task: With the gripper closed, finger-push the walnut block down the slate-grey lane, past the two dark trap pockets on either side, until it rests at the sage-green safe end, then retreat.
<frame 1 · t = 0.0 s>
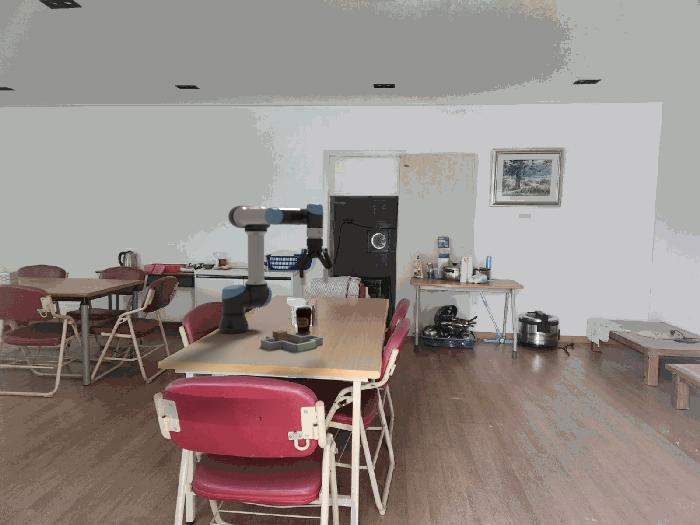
hand: (314, 284, 220), 28 cm above the table, fingers open, 13 cm apart
walnut block: (280, 341, 226), resting in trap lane
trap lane: (290, 344, 220), on the table
coffee cup: (303, 333, 245), on the table
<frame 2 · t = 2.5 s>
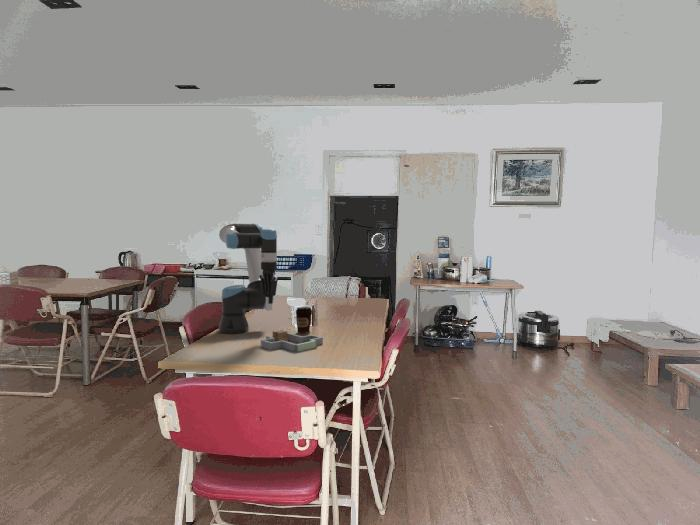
hand: (269, 310, 231), 14 cm above the table, fingers closed
nothing on the table moved.
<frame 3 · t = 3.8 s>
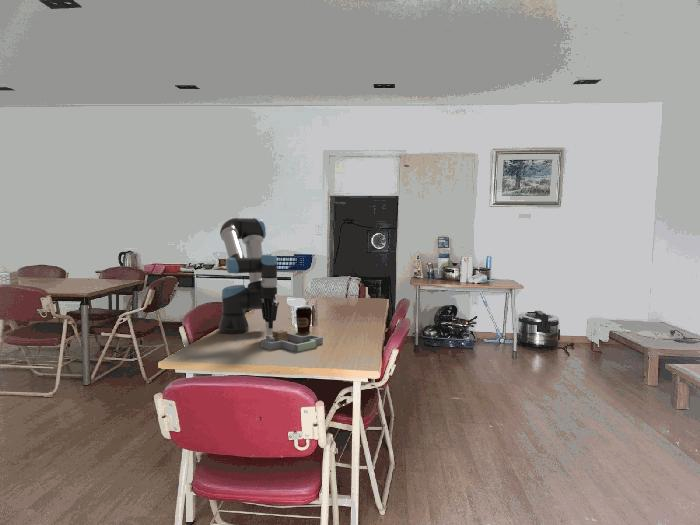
hand: (269, 334, 232), 2 cm above the table, fingers closed
nothing on the table moved.
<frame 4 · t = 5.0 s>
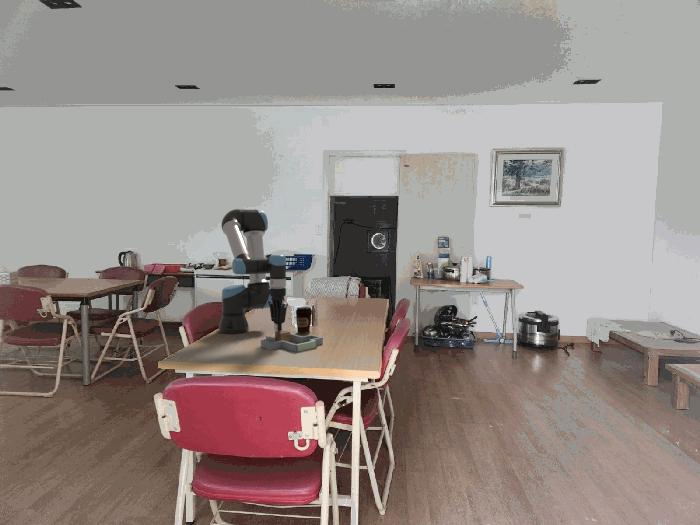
hand: (278, 336, 227), 2 cm above the table, fingers closed
walnut block: (282, 342, 224), resting in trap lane, touching gripper
everything else where it was.
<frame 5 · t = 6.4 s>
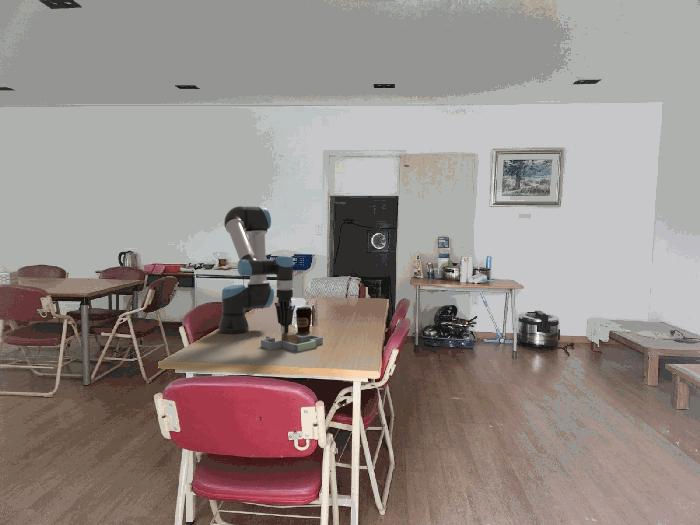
hand: (284, 339, 223), 2 cm above the table, fingers closed
walnut block: (289, 344, 221), resting in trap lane, touching gripper
everything else where it was.
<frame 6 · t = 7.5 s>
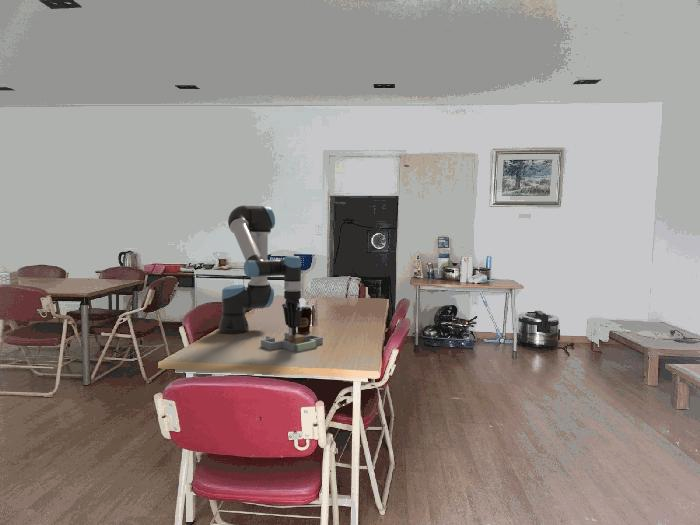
hand: (292, 341, 219), 2 cm above the table, fingers closed
walnut block: (296, 346, 217), resting in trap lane, touching gripper
everything else where it was.
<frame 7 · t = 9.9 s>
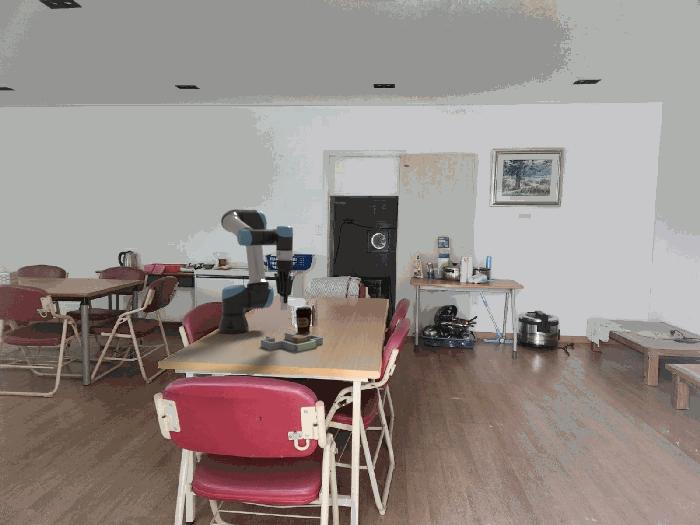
hand: (283, 309, 223), 16 cm above the table, fingers closed
walnut block: (299, 347, 215), resting in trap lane
everything else where it was.
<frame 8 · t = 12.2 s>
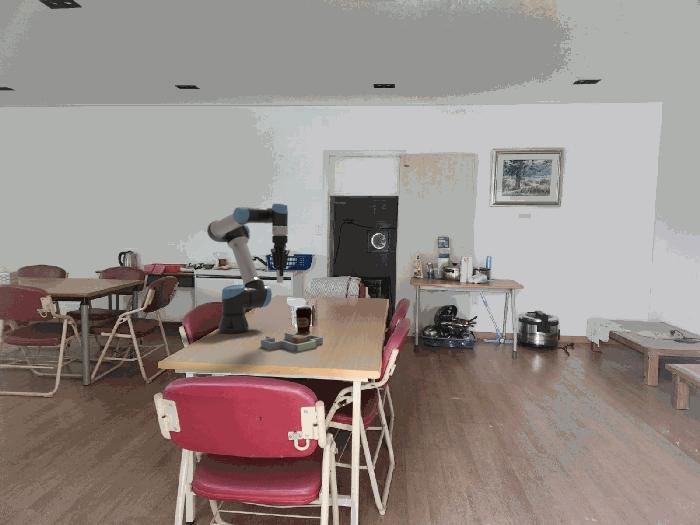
hand: (280, 282, 237), 26 cm above the table, fingers closed
nothing on the table moved.
at the end: walnut block inside the target area on the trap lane (0.7 cm from its centre), point 0.0 cm above the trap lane's base; walnut block tilted 0° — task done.
